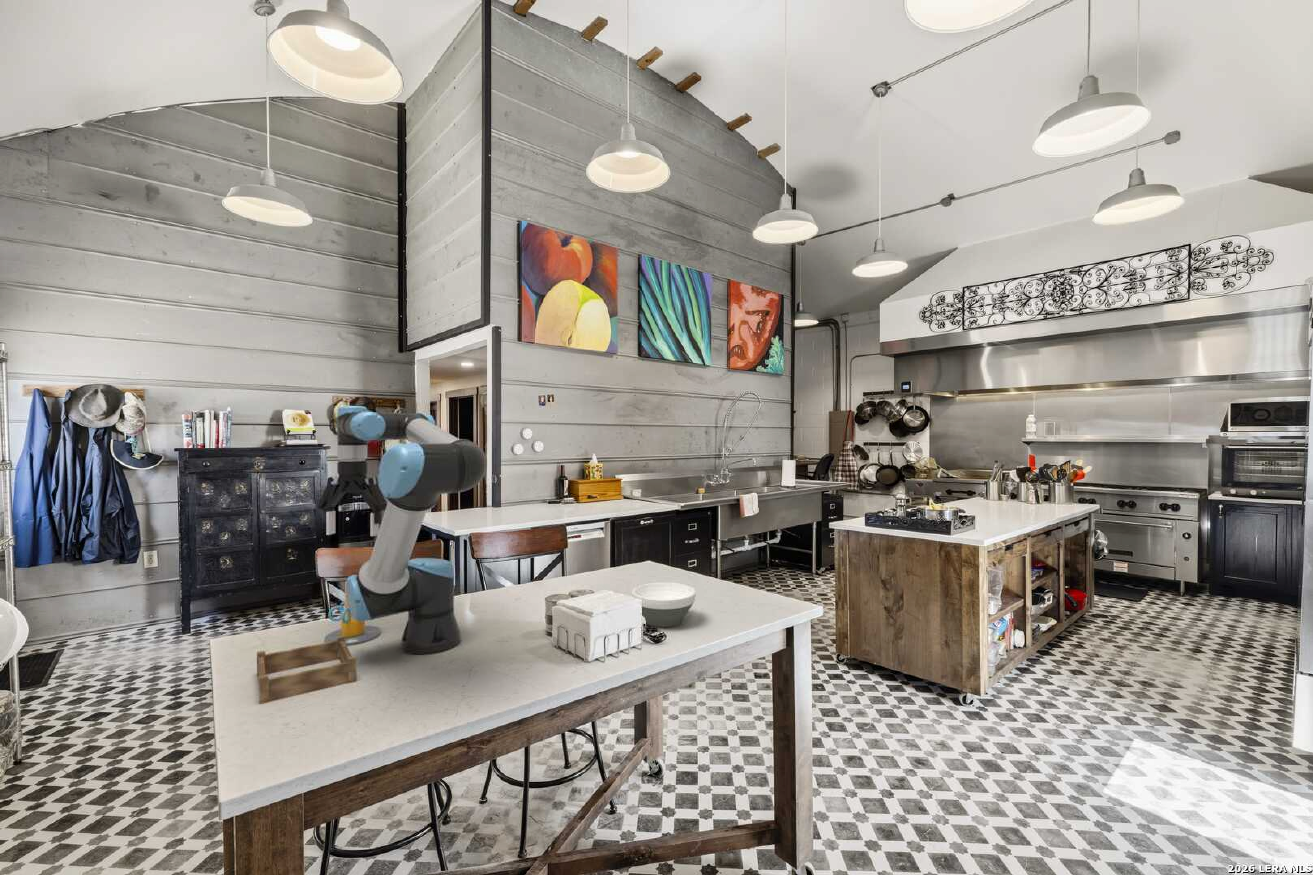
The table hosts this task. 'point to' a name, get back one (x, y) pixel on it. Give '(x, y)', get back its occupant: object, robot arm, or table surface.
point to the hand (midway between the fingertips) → (352, 534)
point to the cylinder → (347, 620)
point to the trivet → (368, 635)
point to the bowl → (664, 602)
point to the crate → (305, 679)
